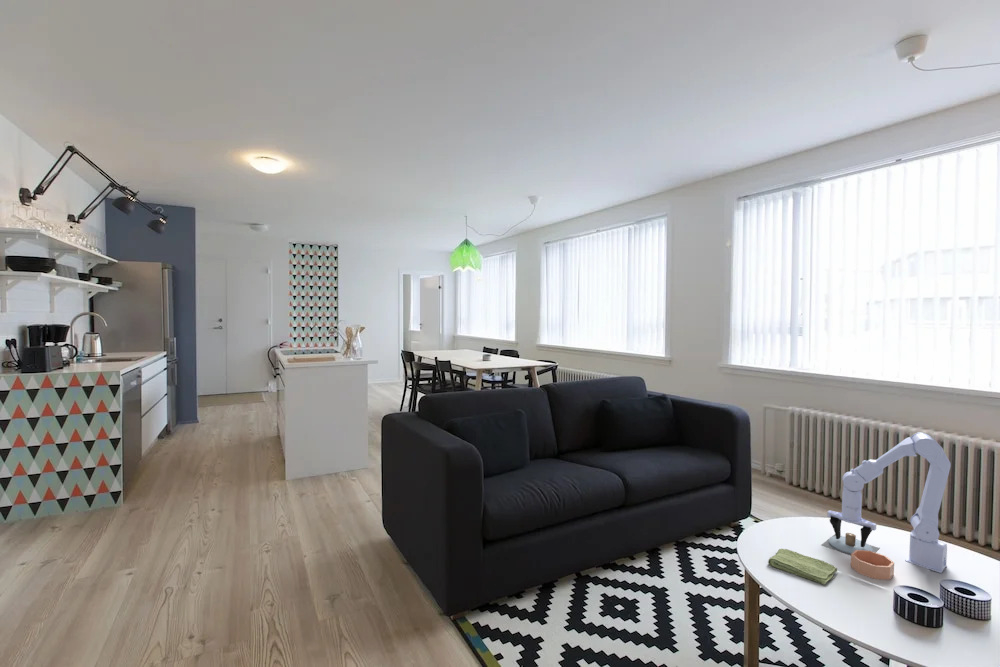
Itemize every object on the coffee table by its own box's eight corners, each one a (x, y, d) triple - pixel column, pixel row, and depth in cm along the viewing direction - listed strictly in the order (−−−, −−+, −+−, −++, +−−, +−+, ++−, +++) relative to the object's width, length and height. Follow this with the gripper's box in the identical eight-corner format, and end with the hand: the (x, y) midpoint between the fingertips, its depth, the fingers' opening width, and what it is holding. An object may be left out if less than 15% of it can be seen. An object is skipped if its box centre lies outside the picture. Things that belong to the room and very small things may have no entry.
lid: (877, 548, 177) (878, 536, 177) (865, 559, 169) (866, 547, 169) (836, 534, 187) (836, 523, 187) (823, 545, 179) (823, 533, 179)
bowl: (896, 572, 161) (897, 559, 161) (886, 584, 155) (887, 570, 154) (858, 559, 170) (858, 547, 169) (847, 569, 163) (847, 556, 163)
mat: (879, 549, 177) (879, 548, 177) (866, 561, 168) (866, 560, 168) (835, 534, 188) (835, 533, 188) (820, 546, 179) (821, 545, 179)
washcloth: (827, 588, 153) (827, 578, 153) (766, 566, 166) (766, 557, 166) (838, 572, 162) (838, 563, 162) (779, 553, 175) (780, 544, 175)
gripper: (824, 502, 180) (823, 537, 181) (872, 515, 169) (870, 553, 170) (831, 497, 185) (830, 532, 185) (878, 510, 173) (877, 547, 174)
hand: (850, 542), depth 178 cm, fingers open, 7 cm apart
